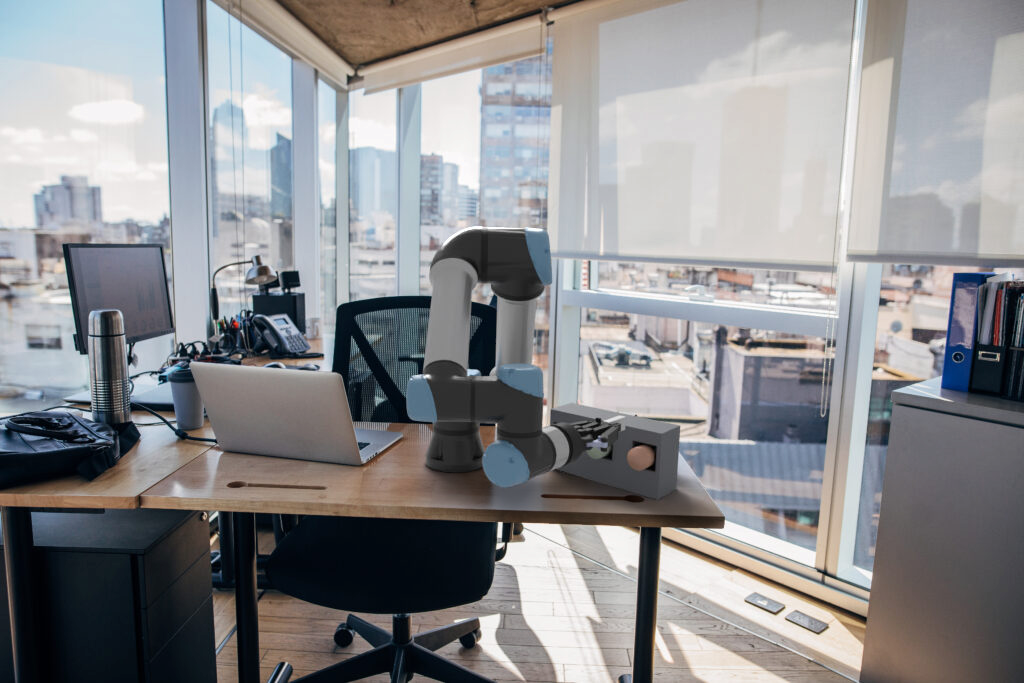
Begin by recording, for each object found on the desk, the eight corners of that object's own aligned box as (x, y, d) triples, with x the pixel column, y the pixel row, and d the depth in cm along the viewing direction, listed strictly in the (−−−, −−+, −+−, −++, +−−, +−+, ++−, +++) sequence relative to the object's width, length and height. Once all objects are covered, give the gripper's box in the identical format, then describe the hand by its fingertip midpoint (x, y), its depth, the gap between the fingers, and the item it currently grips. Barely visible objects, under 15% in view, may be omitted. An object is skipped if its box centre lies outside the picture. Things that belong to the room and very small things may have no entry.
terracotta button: (646, 473, 141) (648, 450, 140) (626, 467, 144) (627, 445, 143) (655, 468, 144) (656, 446, 143) (635, 463, 147) (636, 442, 147)
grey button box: (657, 499, 143) (661, 433, 141) (548, 467, 162) (550, 409, 160) (676, 488, 150) (680, 425, 148) (569, 459, 169) (571, 402, 167)
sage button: (603, 461, 148) (604, 440, 147) (584, 456, 151) (585, 435, 150) (612, 457, 151) (613, 436, 150) (594, 452, 154) (595, 432, 154)
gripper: (524, 459, 120) (594, 434, 138) (583, 475, 112) (650, 446, 130) (525, 419, 119) (596, 399, 137) (585, 433, 111) (651, 409, 129)
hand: (622, 422), depth 133 cm, fingers closed
